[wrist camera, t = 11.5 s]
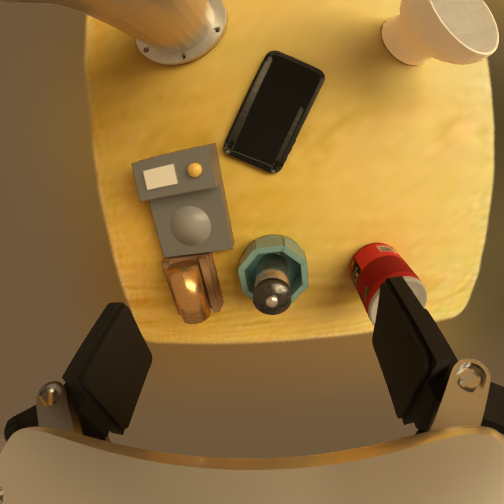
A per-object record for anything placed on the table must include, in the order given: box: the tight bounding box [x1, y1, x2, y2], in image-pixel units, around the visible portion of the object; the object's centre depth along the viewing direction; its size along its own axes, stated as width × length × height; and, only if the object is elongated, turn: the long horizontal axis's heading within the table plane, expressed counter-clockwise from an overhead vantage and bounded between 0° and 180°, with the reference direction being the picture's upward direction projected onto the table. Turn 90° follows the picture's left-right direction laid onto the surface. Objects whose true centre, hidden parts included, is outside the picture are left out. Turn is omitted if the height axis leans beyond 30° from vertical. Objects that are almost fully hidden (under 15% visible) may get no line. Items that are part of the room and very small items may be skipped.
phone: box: [224, 51, 325, 173], centre depth 32 cm, size 8×1×15 cm
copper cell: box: [167, 260, 211, 324], centre depth 39 cm, size 9×4×4 cm, turn 9°
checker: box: [132, 143, 234, 257], centre depth 35 cm, size 14×10×5 cm
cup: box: [381, 0, 499, 65], centre depth 18 cm, size 11×11×15 cm
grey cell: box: [253, 253, 291, 315], centre depth 36 cm, size 4×4×9 cm
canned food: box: [350, 243, 427, 325], centre depth 35 cm, size 8×8×11 cm
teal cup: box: [238, 235, 309, 303], centre depth 39 cm, size 9×9×4 cm
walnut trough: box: [162, 252, 224, 315], centre depth 41 cm, size 9×7×3 cm
